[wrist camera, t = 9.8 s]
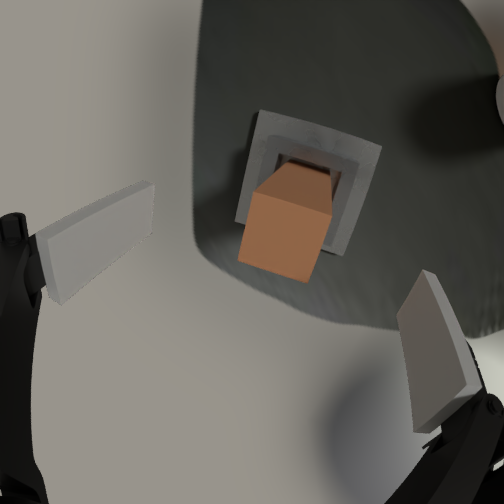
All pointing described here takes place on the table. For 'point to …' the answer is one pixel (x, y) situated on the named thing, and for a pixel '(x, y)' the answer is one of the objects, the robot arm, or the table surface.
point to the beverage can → (500, 97)
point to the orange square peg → (288, 221)
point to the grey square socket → (316, 154)
